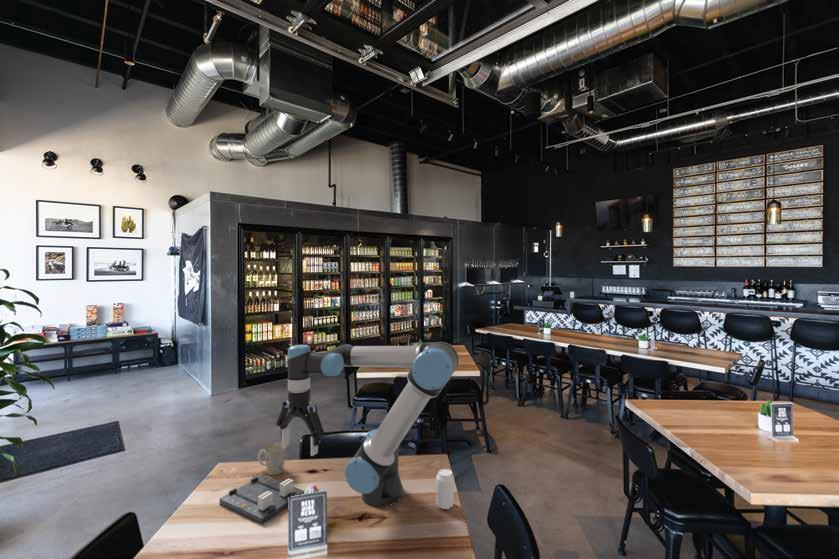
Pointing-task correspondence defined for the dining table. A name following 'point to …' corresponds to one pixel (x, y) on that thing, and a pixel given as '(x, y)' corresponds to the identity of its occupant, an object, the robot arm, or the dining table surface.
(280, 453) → the mug
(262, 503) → the fader
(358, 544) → the dining table surface
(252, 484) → the console
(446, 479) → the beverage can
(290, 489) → the fader
